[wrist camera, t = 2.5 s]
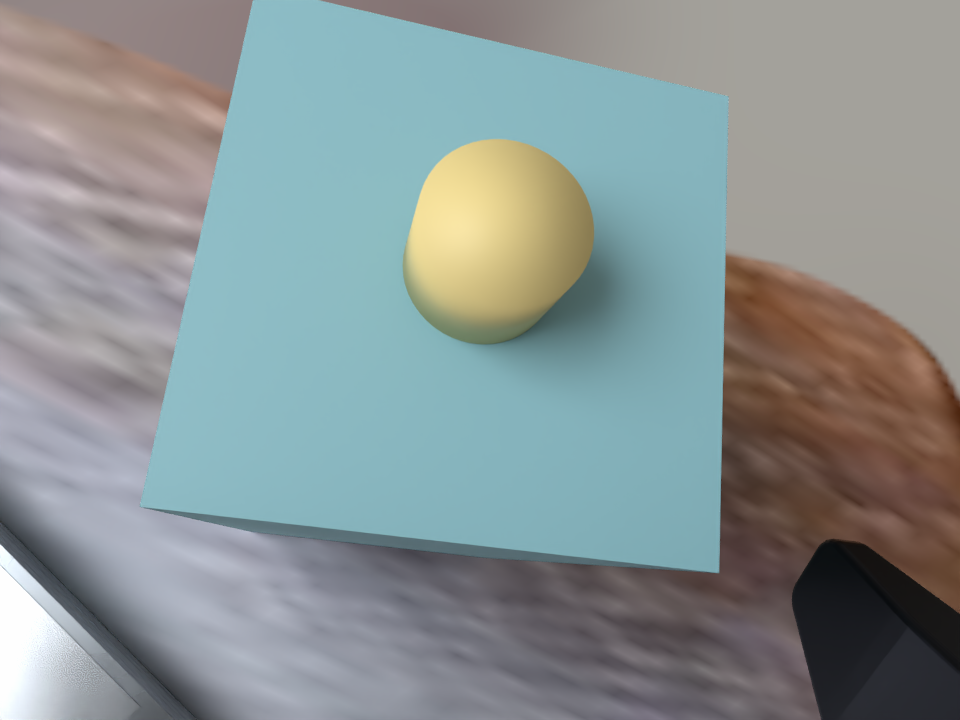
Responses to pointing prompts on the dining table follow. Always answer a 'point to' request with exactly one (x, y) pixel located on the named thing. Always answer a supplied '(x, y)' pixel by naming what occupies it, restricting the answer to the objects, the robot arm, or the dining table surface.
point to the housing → (453, 302)
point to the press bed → (65, 653)
